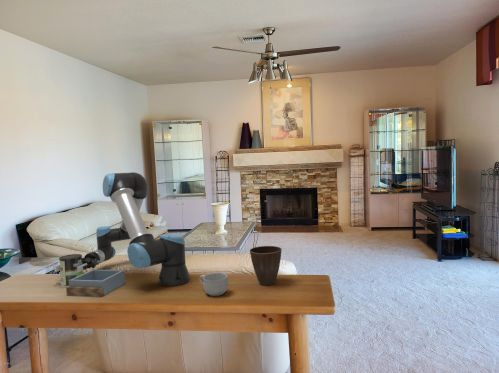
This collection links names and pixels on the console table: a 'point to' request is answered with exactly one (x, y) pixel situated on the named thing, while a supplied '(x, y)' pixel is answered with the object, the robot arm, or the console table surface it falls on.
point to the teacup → (215, 283)
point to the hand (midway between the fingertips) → (66, 269)
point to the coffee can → (69, 268)
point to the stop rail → (85, 291)
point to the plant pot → (266, 263)
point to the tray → (100, 279)
